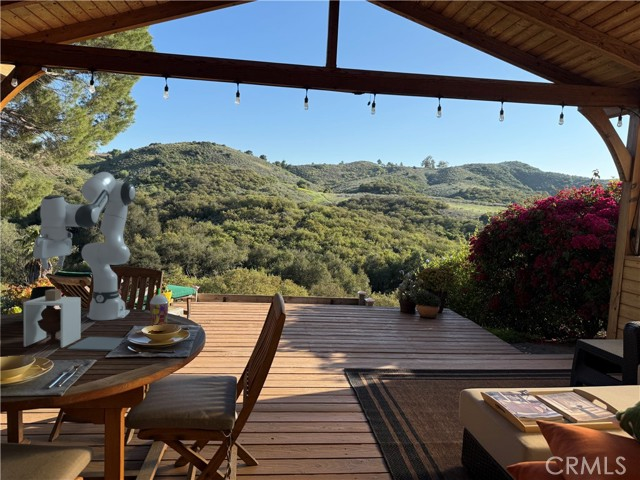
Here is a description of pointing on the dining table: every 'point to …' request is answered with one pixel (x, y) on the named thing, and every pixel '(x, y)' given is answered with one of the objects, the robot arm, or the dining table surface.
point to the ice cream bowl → (51, 323)
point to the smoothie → (159, 309)
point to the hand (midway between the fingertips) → (53, 267)
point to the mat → (97, 344)
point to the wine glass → (40, 293)
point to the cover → (68, 317)
